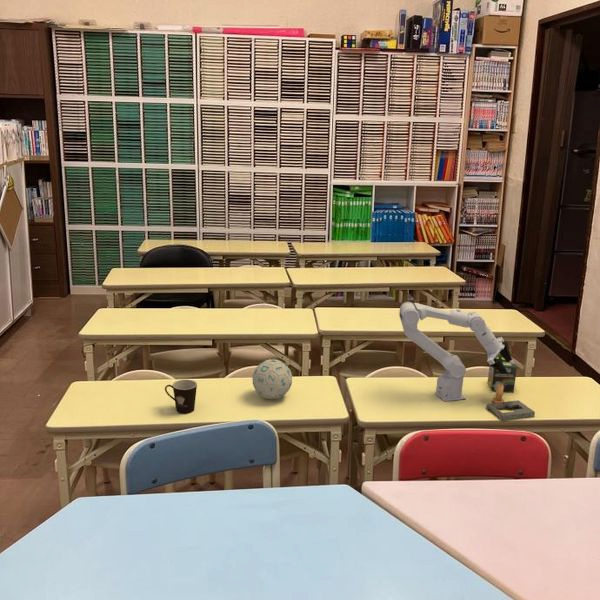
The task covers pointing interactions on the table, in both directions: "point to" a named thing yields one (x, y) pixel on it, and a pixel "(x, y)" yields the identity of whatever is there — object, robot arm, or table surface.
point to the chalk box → (503, 376)
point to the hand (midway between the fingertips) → (507, 366)
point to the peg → (498, 394)
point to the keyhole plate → (517, 414)
